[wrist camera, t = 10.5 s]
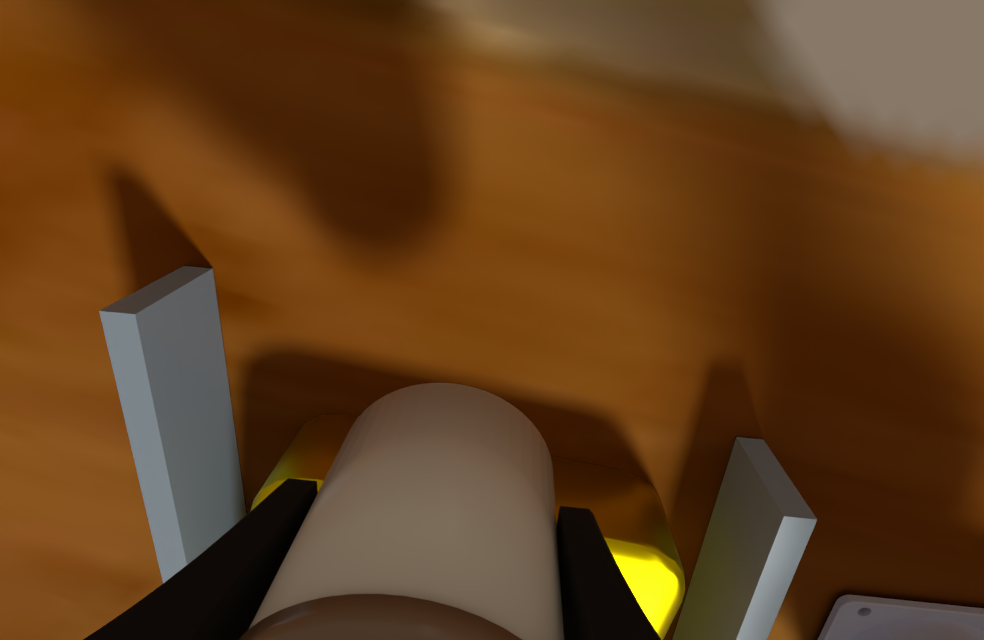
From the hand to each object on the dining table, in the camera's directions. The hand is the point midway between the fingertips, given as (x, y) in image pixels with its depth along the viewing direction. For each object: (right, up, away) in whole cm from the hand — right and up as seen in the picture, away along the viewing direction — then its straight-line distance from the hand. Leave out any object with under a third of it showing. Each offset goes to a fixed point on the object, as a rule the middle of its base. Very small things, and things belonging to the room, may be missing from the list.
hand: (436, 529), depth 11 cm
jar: (0, +1, +1) cm, 2 cm away
